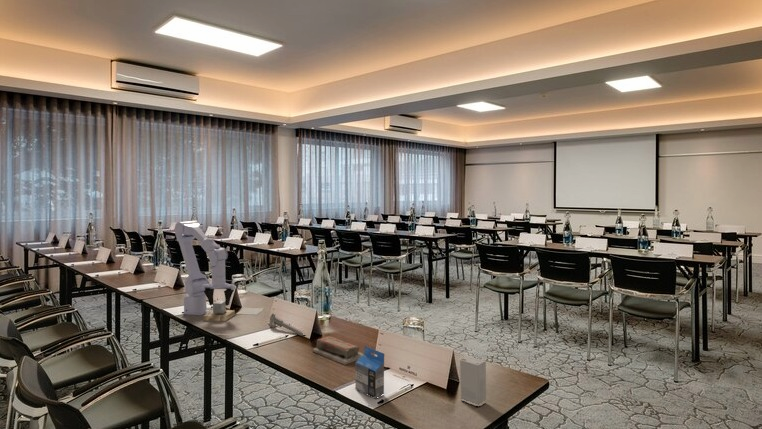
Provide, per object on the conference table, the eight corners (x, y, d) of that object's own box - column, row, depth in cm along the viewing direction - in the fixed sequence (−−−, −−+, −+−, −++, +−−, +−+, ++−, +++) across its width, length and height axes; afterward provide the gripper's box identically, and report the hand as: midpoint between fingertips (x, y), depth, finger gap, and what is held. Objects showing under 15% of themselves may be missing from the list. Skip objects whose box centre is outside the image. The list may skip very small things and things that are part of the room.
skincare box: (486, 403, 123) (487, 360, 122) (478, 409, 120) (479, 365, 119) (467, 395, 127) (468, 354, 126) (459, 401, 124) (459, 359, 123)
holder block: (203, 321, 195) (203, 315, 195) (214, 314, 205) (214, 309, 205) (225, 322, 194) (224, 316, 194) (235, 315, 204) (234, 310, 204)
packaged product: (311, 339, 161) (332, 333, 168) (311, 352, 161) (332, 345, 168) (345, 352, 148) (365, 344, 156) (345, 366, 149) (365, 357, 156)
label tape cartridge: (354, 389, 131) (354, 348, 130) (364, 385, 134) (364, 345, 133) (375, 399, 125) (375, 357, 124) (384, 395, 128) (385, 353, 127)
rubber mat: (235, 315, 205) (235, 313, 205) (244, 309, 215) (244, 307, 215) (256, 315, 204) (256, 314, 204) (264, 309, 214) (264, 308, 214)
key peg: (213, 318, 198) (212, 303, 198) (217, 316, 202) (217, 300, 202) (221, 318, 198) (221, 303, 197) (225, 316, 202) (225, 301, 201)
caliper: (269, 327, 188) (269, 313, 188) (271, 327, 189) (271, 312, 189) (304, 337, 177) (304, 321, 176) (306, 336, 178) (306, 320, 177)
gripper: (198, 276, 195) (199, 306, 196) (230, 277, 194) (230, 307, 195) (206, 273, 202) (207, 302, 203) (237, 274, 201) (237, 303, 202)
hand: (219, 304), depth 199 cm, fingers open, 7 cm apart
